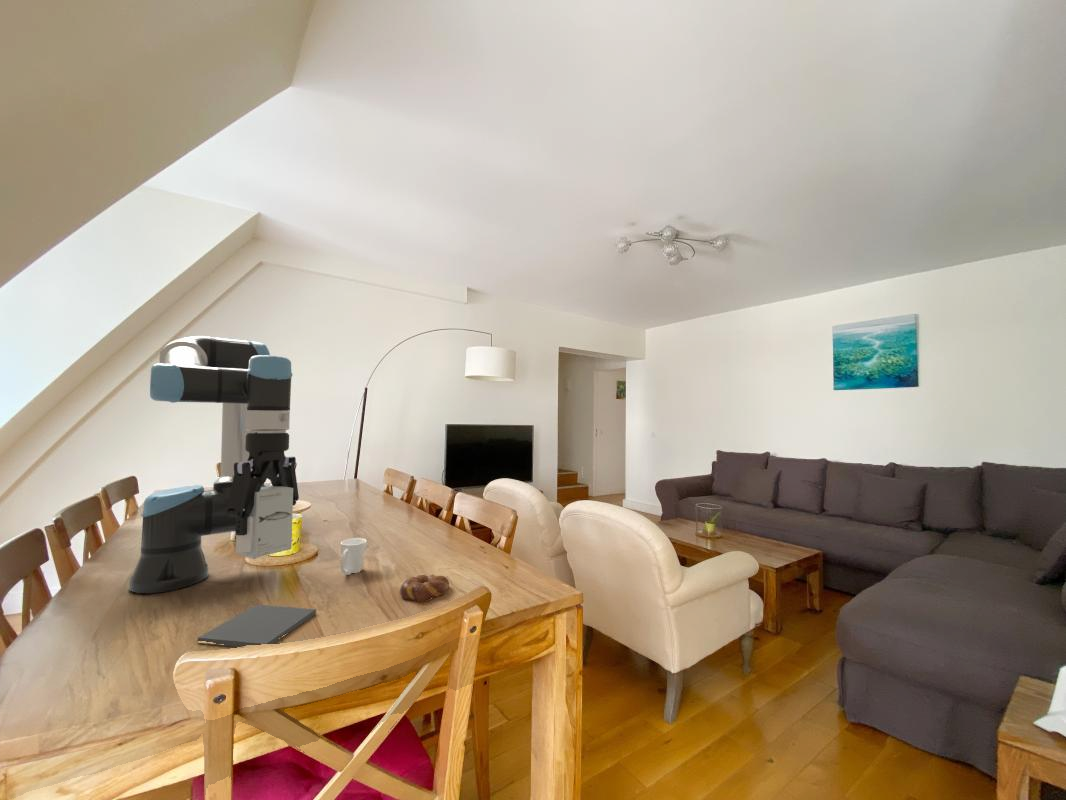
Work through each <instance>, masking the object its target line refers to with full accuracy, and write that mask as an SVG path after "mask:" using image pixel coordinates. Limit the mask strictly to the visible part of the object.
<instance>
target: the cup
mask: <svg viewBox="0 0 1066 800" xmlns="http://www.w3.org/2000/svg"><path fill="white" fill-rule="evenodd" d="M366 547H367V539H366V538H361V537H354V538H347V539H344V540H342V541H340V551H341V559H340V565H339V566H340V567H339V568H340V570H341V572H342V573H343V574H344V575H347V576H349V575H352V574H351V573H355V574H358V573H360V572H359V571H361V572H362V565H363V562H364V558H365V551H366ZM357 572H358V573H357Z"/></svg>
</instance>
